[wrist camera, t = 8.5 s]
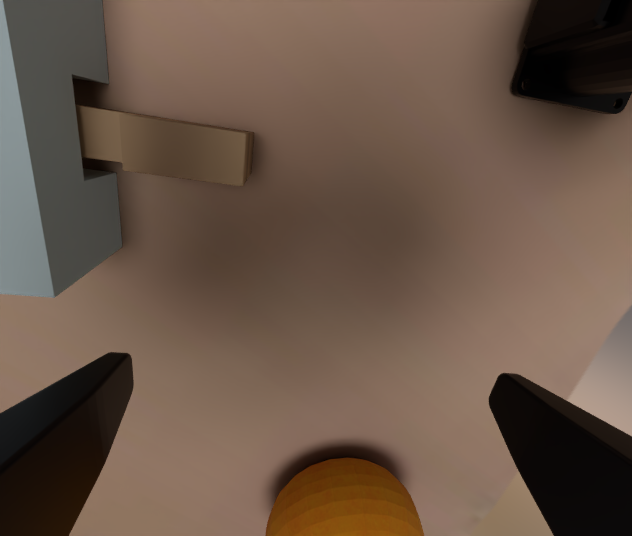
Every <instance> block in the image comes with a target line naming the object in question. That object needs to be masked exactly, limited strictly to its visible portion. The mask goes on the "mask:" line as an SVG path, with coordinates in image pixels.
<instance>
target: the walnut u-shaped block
mask: <svg viewBox="0 0 632 536" xmlns="http://www.w3.org/2000/svg"><path fill="white" fill-rule="evenodd" d="M75 107H76V116H77V124H78V132H79V141H80V149H81V157H85V158H93V159H100V160H107V161H115V162H122V166H123V171H130V172H137V173H145V174H152V175H160V176H168V177H175V178H183V179H190V180H198V181H205V182H213V183H220V184H228V185H235V186H243V185H244V184H245V182H246V180H247V179H248V177H249V176H250V174H251V169H252V155H253V141H254V132H248V131H242V130H236V129H229V128H223V127H217V126H210V125H204V124H198V123H191V122H185V121H179V120H173V119H166V118H160V117H154V116H147V115H141V114H135V113H128V112H122V111H116V110H109V109H103V108H97V107H91V106H84V105H78V104H75Z"/></svg>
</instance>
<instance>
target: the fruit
mask: <svg viewBox="0 0 632 536" xmlns="http://www.w3.org/2000/svg"><path fill="white" fill-rule="evenodd" d="M266 536H424V533H423V529H422V526H421V522H420V519H419V516H418V513H417V510H416V507H415V505H414V503H413V501H412V498H411V496H410V494H409V493H408V491H407V490H406V488H405V487H404V485H402V484H401V483H400V482H399V481H398V480H397V479H396V478H395V477H394V476H393V475H392V474H391V473H390V472H389V471H388V470H387V469H385V468H383V467H381V466H379V465H377V464H374V463H372V462H370V461H367V460H363V459H355V458H339V459H330V460H326V461H323V462H320V463H317V464H314V465H311V466H309V467H308V468H306V469H305V470H303V471H301V472H300V473H298V474H297V475H295V476H294V477H293V478H292V480H291V481H290V482H289V483H288V484H287V485H286V486H285V487H284V488H283V489H282V490H281V492H280V493H279V495H278V497H277V499H276V501H275V503H274V506H273V508H272V511H271V513H270V516H269V520H268V524H267V527H266Z"/></svg>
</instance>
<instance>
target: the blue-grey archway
mask: <svg viewBox="0 0 632 536" xmlns="http://www.w3.org/2000/svg"><path fill="white" fill-rule="evenodd" d="M72 78H75V79H81V80H87V81H93V82H100V83H106V84H109V77H108V65H107V53H106V41H105V29H104V16H103V4H102V0H0V294H10V295H24V296H39V297H53V298H55V297H56V296H57V295H59V294H60V293H61V292H63V291H64V290H65V289H67V288H68V287H69V286H71V285H72V284H73V283H75V282H76V281H77V280H79V279H80V278H81V277H83V276H84V275H85V274H87V273H88V272H89V271H91V270H92V269H93V268H95V267H96V266H97V265H99V264H100V263H101V262H103V261H104V260H105V259H107V258H108V257H109V256H111V255H112V254H113V253H115V252H116V251H117V250H119V249H120V248H121V247H122V236H121V224H120V212H119V200H118V187H117V175H116V173H115V172H107V171H99V170H91V169H84V168H83V166H82V158H81V149H80V141H79V132H78V124H77V116H76V107H75V99H74V90H73V82H72Z"/></svg>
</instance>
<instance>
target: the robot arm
mask: <svg viewBox="0 0 632 536" xmlns="http://www.w3.org/2000/svg"><path fill="white" fill-rule="evenodd" d="M524 44H525V47H524V50H523V53H522V56H521V59H520V62H519V65H518V68H517V71H516V74H515V77H514V80H513V83H512V92H513V94H514V95H516V96H519V97H524V98H529V99H534V100H539V101H544V102H549V103H554V104H559V105H564V106H569V107H574V108H579V109H584V110H589V111H594V112H599V113H604V114H617V113H619V112H621V111H622V110H623V109H624V108H625V106H626V104H627V102H628V100H629V98H630V96H631V93H632V0H538V2H537V5H536V8H535V11H534V14H533V17H532V20H531V23H530V26H529V29H528V32H527V35H526V38H525V42H524ZM523 81H525V83H526V86H525V88H524V89H522V87H521V86H522V82H523ZM615 101H616V104H615V106H614V102H615ZM133 384H134V382H133V368H132V358H131V355H130V354H128V353H117V352H110V353H107V354H105V355H103V356H102V357H100V358H98V359H96V360H95V361H93V362H91V363H89V364H87V365H86V366H84V367H82V368H80V369H79V370H77V371H75V372H73V373H71V374H70V375H68V376H66V377H64V378H62V379H61V380H59V381H57V382H55V383H54V384H52V385H50V386H48V387H46V388H45V389H43V390H41V391H39V392H37V393H36V394H34V395H32V396H30V397H29V398H27V399H25V400H23V401H21V402H20V403H18V404H16V405H14V406H13V407H11V408H9V409H7V410H5V411H4V412H2V413H0V536H69V534H70V532H71V530H72V528H73V526H74V524H75V522H76V520H77V518H78V516H79V514H80V512H81V510H82V508H83V506H84V504H85V502H86V500H87V498H88V496H89V494H90V493H91V491H92V489H93V487H94V485H95V483H96V481H97V479H98V477H99V475H100V473H101V470H102V468H103V466H104V464H105V462H106V459H107V457H108V454H109V452H110V449H111V447H112V444H113V441H114V439H115V436H116V434H117V431H118V428H119V426H120V423H121V420H122V418H123V415H124V413H125V410H126V407H127V405H128V402H129V400H130V397H131V394H132V391H133ZM489 406H490V409H491V411H492V413H493V415H494V418H495V420H496V422H497V424H498V427H499V429H500V431H501V433H502V436H503V438H504V440H505V443H506V445H507V447H508V449H509V452H510V454H511V456H512V458H513V460H514V462H515V465H516V467H517V469H518V470H519V472H520V474H521V476H522V478H523V480H524V482H525V483H526V485H527V487H528V489H529V491H530V493H531V495H532V496H533V498H534V500H535V502H536V504H537V506H538V507H539V509H540V511H541V513H542V515H543V517H544V518H545V520H546V522H547V524H548V526H549V528H550V529H551V531H552V533H553V535H554V536H632V436H630V435H628V434H626V433H624V432H623V431H621V430H619V429H617V428H615V427H613V426H612V425H610V424H608V423H606V422H604V421H603V420H601V419H599V418H597V417H595V416H594V415H592V414H590V413H588V412H586V411H584V410H582V409H581V408H579V407H577V406H575V405H573V404H572V403H570V402H568V401H566V400H564V399H563V398H561V397H559V396H557V395H555V394H553V393H552V392H550V391H548V390H546V389H544V388H542V387H541V386H539V385H537V384H535V383H533V382H532V381H530V380H528V379H526V378H524V377H522V376H521V375H518V374H513V373H502V374H500V375H499V376H498V378H497V380H496V382H495V385H494V387H493V389H492V391H491V394H490V396H489Z"/></svg>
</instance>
